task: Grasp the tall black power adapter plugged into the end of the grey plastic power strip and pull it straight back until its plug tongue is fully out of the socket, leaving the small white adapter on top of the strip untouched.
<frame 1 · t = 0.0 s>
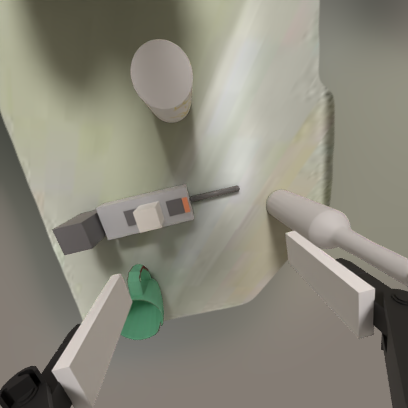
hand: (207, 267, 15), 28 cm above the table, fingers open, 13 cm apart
mug: (147, 277, 46), on the table
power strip: (150, 208, 42), on the table
pale pink cylinder: (170, 100, 37), on the table
adapter black: (93, 227, 37), point 5 cm above the table, slide at 0.0 cm
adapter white: (151, 212, 38), point 4 cm above the table, touching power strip
bottle: (279, 203, 44), on the table
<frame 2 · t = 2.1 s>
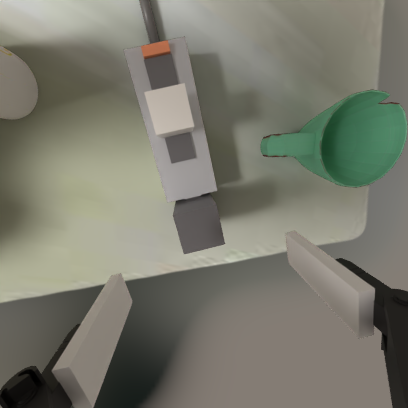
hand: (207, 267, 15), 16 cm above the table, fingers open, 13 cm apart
mug: (290, 146, 30), on the table
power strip: (176, 131, 27), on the table
pale pink cylinder: (4, 85, 24), on the table
adapter black: (195, 207, 26), point 5 cm above the table, slide at 0.0 cm
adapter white: (172, 117, 23), point 4 cm above the table, touching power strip
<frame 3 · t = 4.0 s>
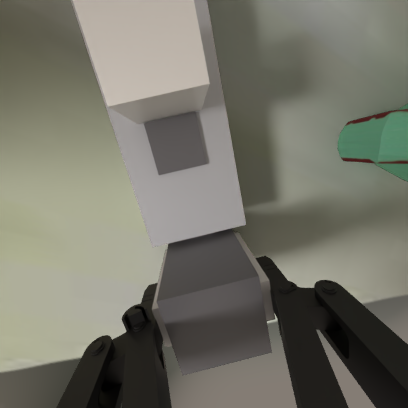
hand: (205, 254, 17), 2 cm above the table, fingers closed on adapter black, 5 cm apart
mug: (366, 142, 17), on the table
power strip: (171, 115, 15), on the table
adapter black: (204, 256, 14), point 5 cm above the table, slide at 0.0 cm, touching gripper
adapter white: (160, 80, 11), point 4 cm above the table, touching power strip
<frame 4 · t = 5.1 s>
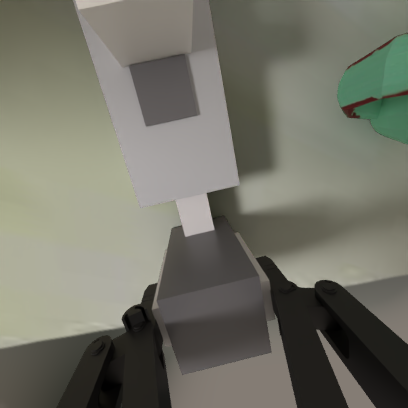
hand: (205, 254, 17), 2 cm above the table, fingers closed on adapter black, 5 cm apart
mug: (367, 108, 17), on the table
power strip: (162, 72, 14), on the table
adapter black: (204, 256, 14), point 5 cm above the table, slide at 3.0 cm, touching gripper
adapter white: (146, 18, 10), point 4 cm above the table, touching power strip
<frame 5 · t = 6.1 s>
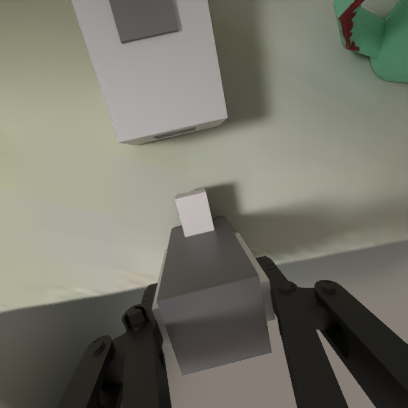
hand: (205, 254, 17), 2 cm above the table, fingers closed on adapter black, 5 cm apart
mug: (367, 49, 15), on the table
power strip: (144, 2, 13), on the table
adapter black: (204, 256, 14), point 5 cm above the table, slide at 7.4 cm, touching gripper
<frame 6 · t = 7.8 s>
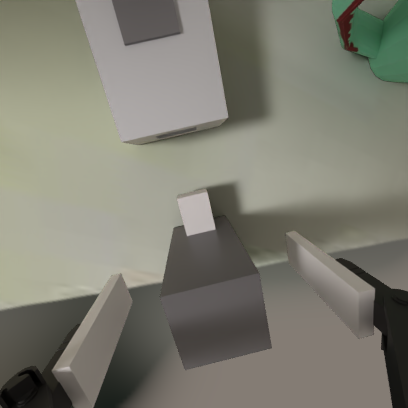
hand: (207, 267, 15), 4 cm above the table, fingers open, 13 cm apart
mug: (366, 50, 16), on the table
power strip: (146, 5, 14), on the table
adapter black: (205, 255, 14), point 5 cm above the table, slide at 7.5 cm
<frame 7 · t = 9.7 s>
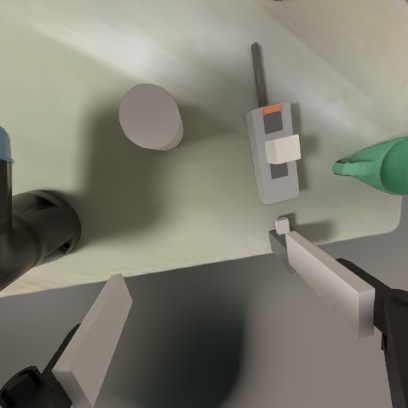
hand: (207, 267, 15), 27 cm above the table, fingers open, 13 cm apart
mug: (346, 164, 41), on the table
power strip: (268, 156, 40), on the table
pale pink cylinder: (163, 129, 37), on the table
adapter black: (289, 241, 40), point 5 cm above the table, slide at 7.5 cm
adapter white: (276, 150, 36), point 4 cm above the table, touching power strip
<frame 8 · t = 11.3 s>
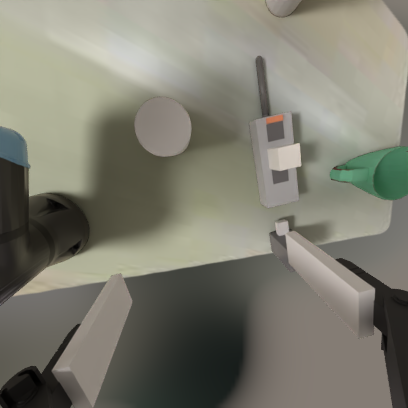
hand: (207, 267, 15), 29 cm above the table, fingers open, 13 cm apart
mug: (341, 170, 44), on the table
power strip: (270, 161, 42), on the table
pale pink cylinder: (170, 135, 39), on the table
adapter black: (288, 242, 42), point 5 cm above the table, slide at 7.5 cm
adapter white: (278, 156, 38), point 4 cm above the table, touching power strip
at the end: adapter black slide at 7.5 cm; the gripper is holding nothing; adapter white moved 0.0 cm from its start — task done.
